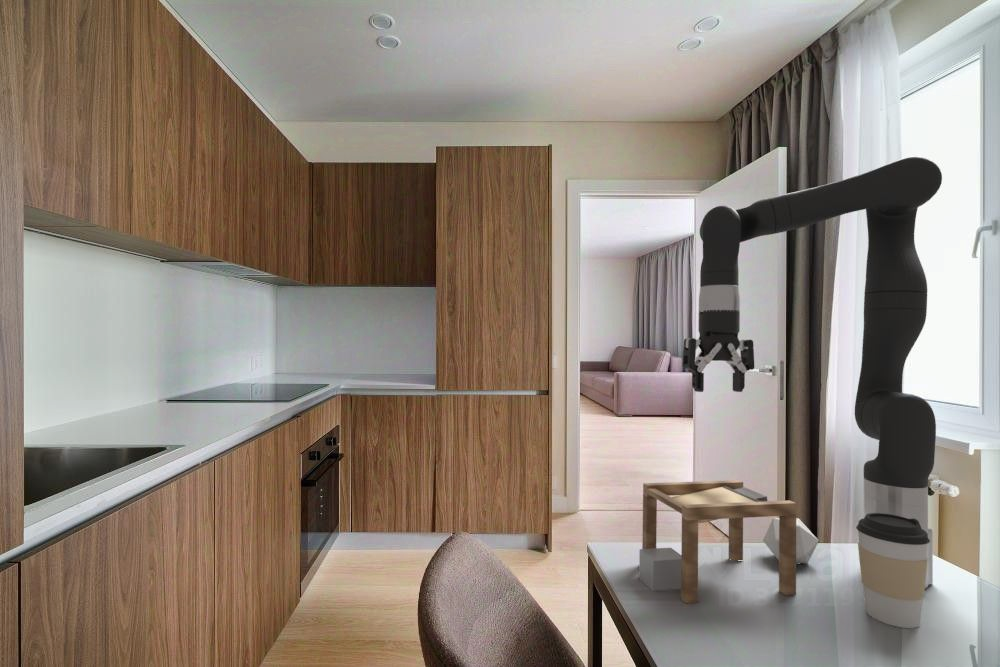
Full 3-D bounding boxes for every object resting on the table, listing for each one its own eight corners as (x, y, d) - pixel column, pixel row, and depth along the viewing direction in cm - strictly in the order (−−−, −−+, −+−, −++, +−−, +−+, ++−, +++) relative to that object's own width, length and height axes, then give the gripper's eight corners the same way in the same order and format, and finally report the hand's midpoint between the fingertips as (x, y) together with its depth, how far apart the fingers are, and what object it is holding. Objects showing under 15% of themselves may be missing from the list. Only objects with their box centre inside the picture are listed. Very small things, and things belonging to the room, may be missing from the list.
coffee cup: (864, 623, 77) (864, 521, 77) (849, 597, 85) (849, 505, 86) (940, 637, 73) (940, 530, 74) (917, 608, 82) (916, 512, 82)
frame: (737, 558, 101) (738, 480, 101) (796, 594, 86) (796, 503, 86) (642, 564, 97) (643, 483, 97) (686, 603, 82) (687, 507, 82)
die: (815, 578, 94) (832, 530, 97) (770, 550, 95) (789, 504, 99) (791, 575, 101) (807, 531, 105) (749, 550, 103) (767, 507, 106)
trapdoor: (701, 534, 85) (698, 517, 85) (666, 513, 96) (664, 497, 96) (779, 517, 88) (777, 500, 88) (737, 498, 99) (735, 483, 99)
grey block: (670, 547, 92) (639, 549, 91) (686, 558, 88) (653, 560, 86) (670, 575, 92) (639, 578, 91) (685, 588, 87) (652, 591, 86)
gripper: (738, 312, 108) (738, 390, 107) (676, 309, 105) (675, 389, 105) (763, 309, 100) (763, 393, 100) (697, 307, 98) (696, 393, 97)
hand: (718, 391), depth 102 cm, fingers open, 8 cm apart
